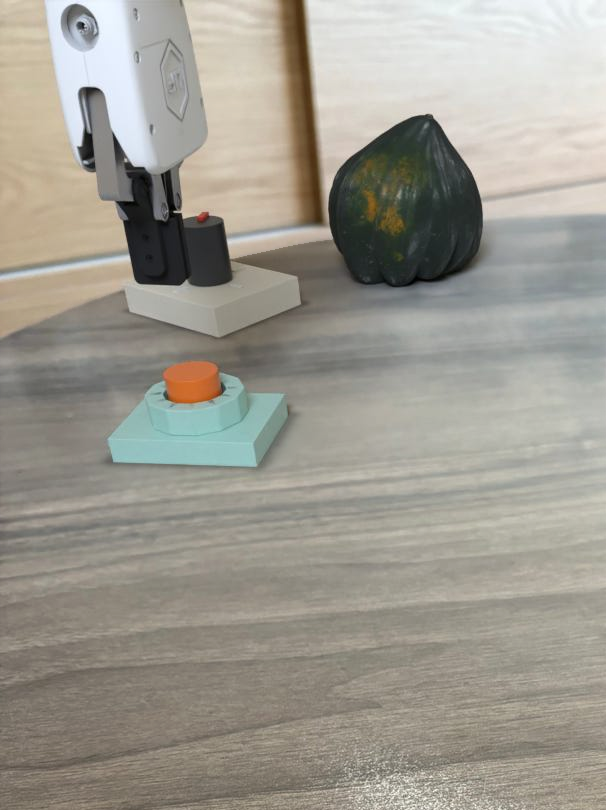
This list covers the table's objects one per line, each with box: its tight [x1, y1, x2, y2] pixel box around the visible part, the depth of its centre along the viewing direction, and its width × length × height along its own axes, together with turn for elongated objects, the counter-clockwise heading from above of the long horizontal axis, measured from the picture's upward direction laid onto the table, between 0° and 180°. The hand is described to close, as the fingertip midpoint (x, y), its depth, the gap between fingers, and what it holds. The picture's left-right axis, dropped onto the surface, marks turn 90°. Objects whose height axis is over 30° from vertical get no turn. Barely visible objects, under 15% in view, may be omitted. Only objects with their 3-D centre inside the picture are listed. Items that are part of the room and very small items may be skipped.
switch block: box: [107, 372, 289, 468], centre depth 71 cm, size 10×8×4 cm
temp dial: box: [183, 211, 233, 286], centre depth 91 cm, size 4×4×5 cm
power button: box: [163, 360, 222, 404], centre depth 70 cm, size 4×4×2 cm
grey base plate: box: [123, 260, 302, 338], centre depth 93 cm, size 12×10×3 cm
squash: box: [327, 113, 484, 287], centre depth 98 cm, size 14×15×15 cm
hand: (164, 280), depth 65 cm, fingers closed
